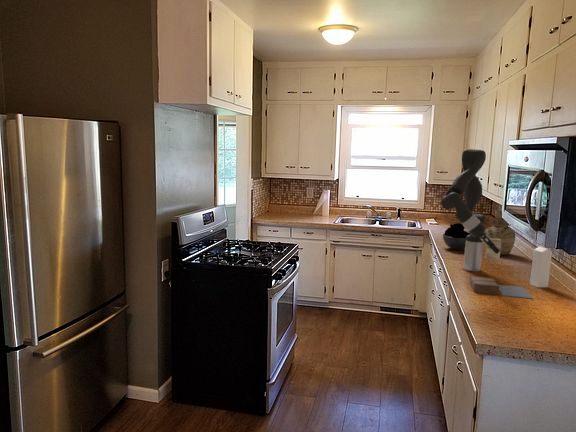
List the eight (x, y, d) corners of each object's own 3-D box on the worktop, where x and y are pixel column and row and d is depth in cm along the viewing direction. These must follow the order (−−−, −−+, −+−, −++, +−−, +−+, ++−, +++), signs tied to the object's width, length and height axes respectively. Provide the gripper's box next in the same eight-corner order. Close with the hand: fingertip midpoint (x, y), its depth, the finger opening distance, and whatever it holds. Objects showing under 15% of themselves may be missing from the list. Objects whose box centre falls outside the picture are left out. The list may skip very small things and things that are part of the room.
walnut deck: (469, 283, 231) (470, 275, 230) (492, 285, 228) (492, 278, 228) (473, 291, 217) (474, 283, 216) (498, 294, 214) (498, 286, 213)
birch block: (484, 257, 222) (486, 238, 221) (497, 258, 221) (499, 239, 219) (486, 259, 219) (488, 239, 217) (499, 260, 217) (501, 240, 216)
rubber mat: (495, 285, 229) (495, 284, 229) (522, 288, 226) (522, 287, 226) (503, 295, 212) (503, 294, 212) (532, 298, 209) (532, 298, 209)
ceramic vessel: (485, 248, 322) (490, 208, 317) (516, 254, 307) (521, 211, 303) (476, 252, 308) (480, 210, 303) (508, 258, 294) (513, 213, 289)
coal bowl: (466, 247, 324) (469, 222, 321) (475, 253, 304) (478, 226, 301) (438, 246, 326) (441, 220, 323) (445, 251, 306) (448, 225, 303)
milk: (539, 284, 235) (544, 243, 232) (547, 287, 229) (553, 246, 226) (529, 284, 234) (534, 243, 231) (537, 287, 228) (542, 245, 225)
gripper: (482, 222, 212) (506, 249, 211) (477, 218, 226) (500, 243, 224) (469, 232, 214) (493, 259, 213) (465, 228, 228) (488, 253, 226)
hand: (497, 251), depth 219 cm, fingers closed on birch block, 4 cm apart
